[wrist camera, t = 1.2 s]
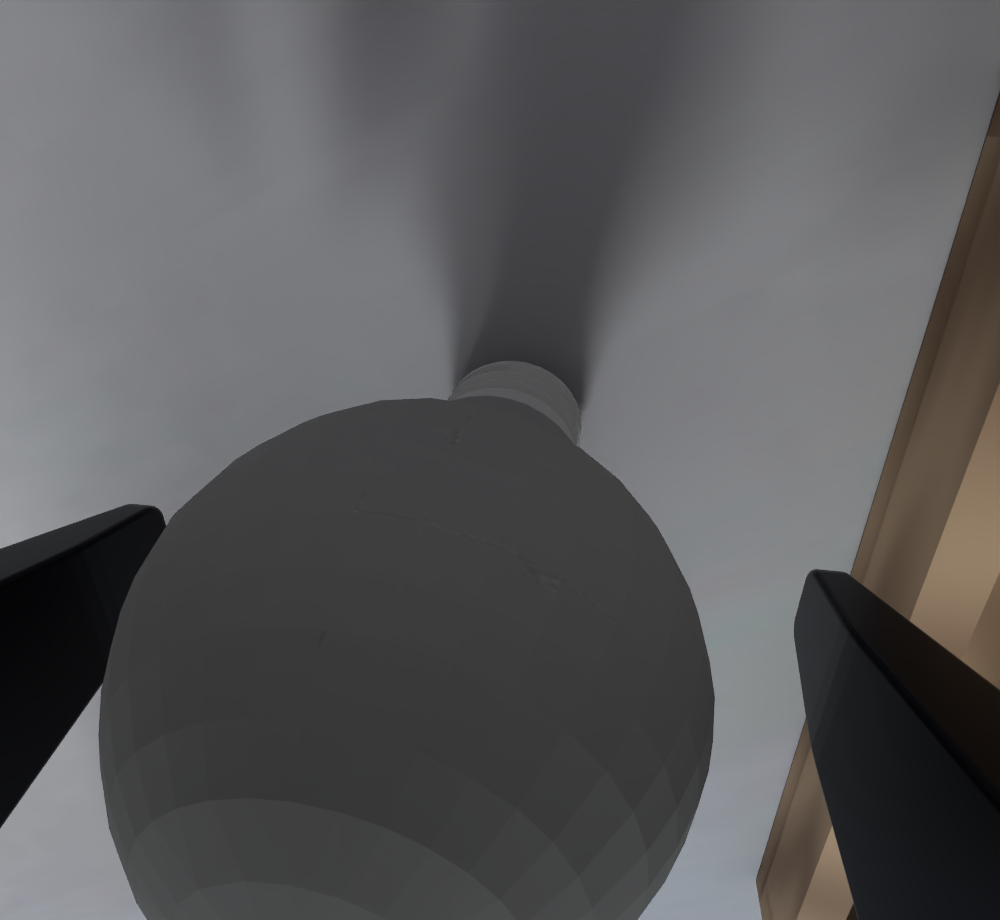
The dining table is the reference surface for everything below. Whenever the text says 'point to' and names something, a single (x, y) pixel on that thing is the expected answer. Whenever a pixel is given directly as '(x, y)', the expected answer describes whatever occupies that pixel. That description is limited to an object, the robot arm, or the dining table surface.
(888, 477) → the tray
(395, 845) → the light bulb
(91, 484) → the dining table surface
